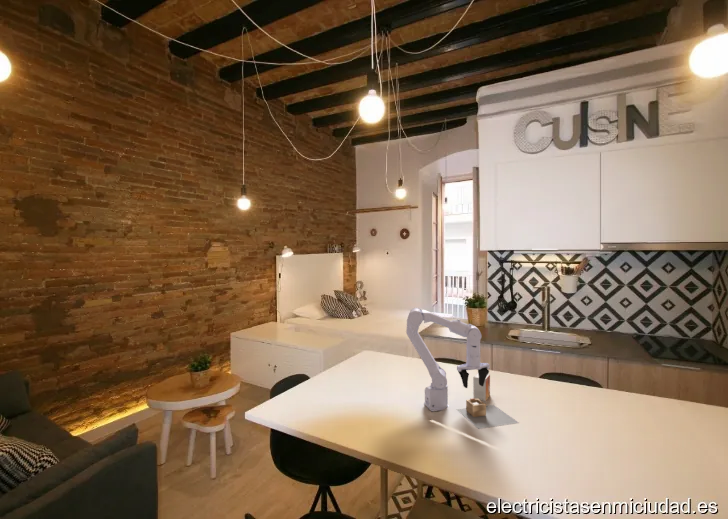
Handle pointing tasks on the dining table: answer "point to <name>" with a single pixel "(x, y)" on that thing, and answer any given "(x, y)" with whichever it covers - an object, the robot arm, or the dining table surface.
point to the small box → (481, 388)
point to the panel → (489, 417)
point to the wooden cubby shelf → (476, 407)
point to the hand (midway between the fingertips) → (473, 386)
